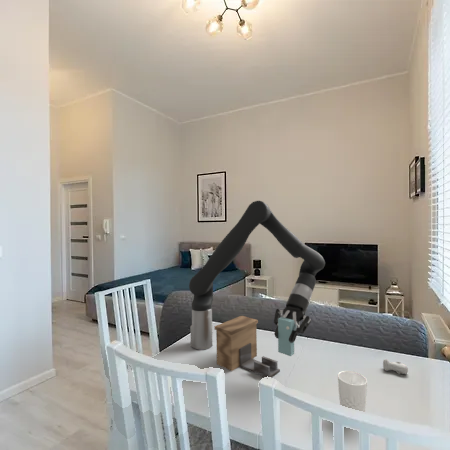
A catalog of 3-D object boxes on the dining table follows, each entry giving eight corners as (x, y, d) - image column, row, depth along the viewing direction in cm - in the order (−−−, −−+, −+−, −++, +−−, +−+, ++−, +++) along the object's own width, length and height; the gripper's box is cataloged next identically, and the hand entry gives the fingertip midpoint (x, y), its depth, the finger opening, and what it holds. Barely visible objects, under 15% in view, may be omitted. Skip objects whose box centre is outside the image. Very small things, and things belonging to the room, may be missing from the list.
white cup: (365, 405, 87) (365, 373, 87) (369, 422, 79) (368, 387, 79) (337, 400, 89) (337, 369, 89) (338, 417, 82) (338, 382, 82)
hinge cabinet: (215, 364, 114) (214, 326, 113) (241, 349, 126) (241, 315, 126) (261, 385, 98) (260, 341, 98) (286, 366, 111) (286, 327, 111)
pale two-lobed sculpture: (407, 375, 106) (407, 377, 102) (383, 369, 110) (382, 370, 106) (408, 362, 107) (408, 364, 103) (383, 357, 111) (382, 358, 107)
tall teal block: (276, 352, 101) (276, 319, 101) (281, 349, 104) (281, 316, 104) (289, 357, 98) (289, 322, 98) (294, 353, 101) (294, 320, 100)
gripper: (279, 289, 111) (262, 329, 103) (314, 296, 102) (298, 340, 93) (286, 300, 115) (270, 339, 107) (320, 307, 106) (305, 350, 97)
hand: (283, 339), depth 100 cm, fingers closed on tall teal block, 5 cm apart
